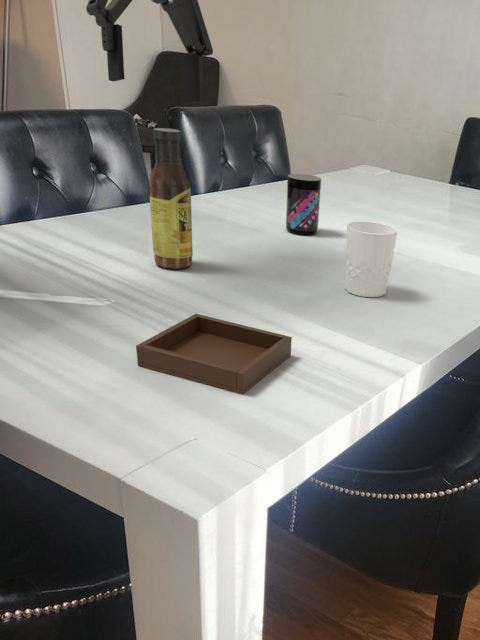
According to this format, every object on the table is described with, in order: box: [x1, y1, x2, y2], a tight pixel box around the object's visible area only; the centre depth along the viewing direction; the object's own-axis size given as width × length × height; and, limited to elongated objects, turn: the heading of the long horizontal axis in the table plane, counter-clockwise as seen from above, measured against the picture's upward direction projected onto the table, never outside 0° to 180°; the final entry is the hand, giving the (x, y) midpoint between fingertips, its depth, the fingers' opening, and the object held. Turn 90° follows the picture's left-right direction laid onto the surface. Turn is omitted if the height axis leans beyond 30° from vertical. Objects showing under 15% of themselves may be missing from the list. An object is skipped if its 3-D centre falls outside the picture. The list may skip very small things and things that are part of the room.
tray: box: [135, 313, 293, 395], centre depth 77 cm, size 14×13×2 cm
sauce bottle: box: [148, 127, 194, 270], centre depth 101 cm, size 6×6×20 cm
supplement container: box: [285, 173, 322, 236], centre depth 131 cm, size 7×7×10 cm
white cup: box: [344, 220, 398, 298], centre depth 104 cm, size 8×8×10 cm
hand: (156, 92), depth 97 cm, fingers open, 13 cm apart
